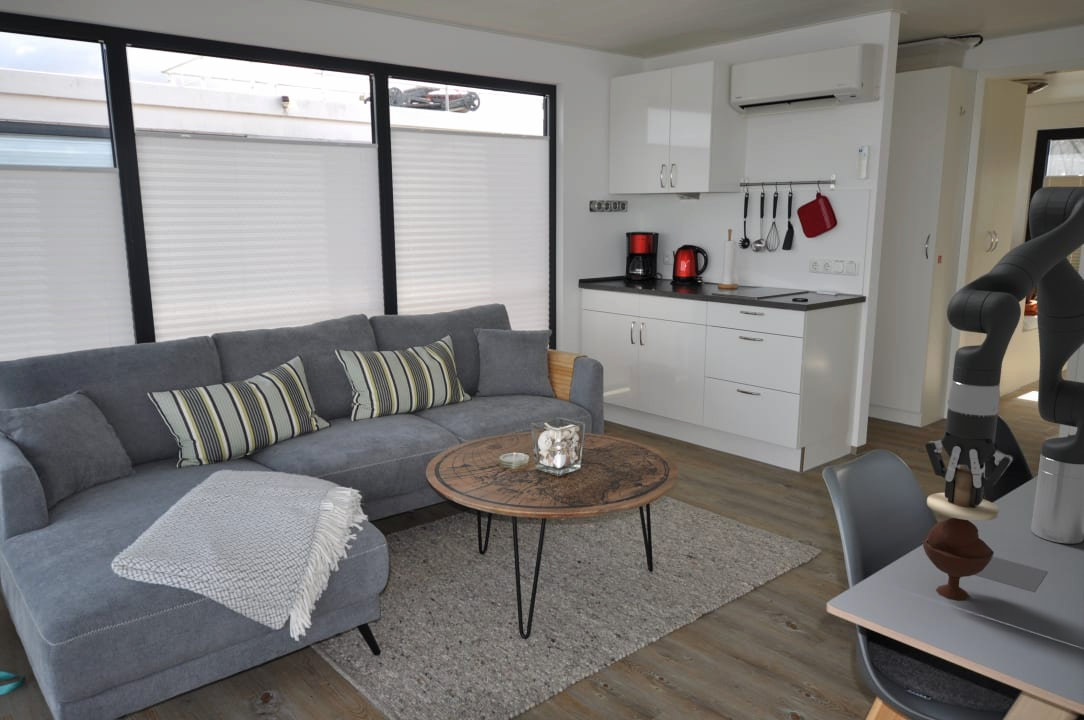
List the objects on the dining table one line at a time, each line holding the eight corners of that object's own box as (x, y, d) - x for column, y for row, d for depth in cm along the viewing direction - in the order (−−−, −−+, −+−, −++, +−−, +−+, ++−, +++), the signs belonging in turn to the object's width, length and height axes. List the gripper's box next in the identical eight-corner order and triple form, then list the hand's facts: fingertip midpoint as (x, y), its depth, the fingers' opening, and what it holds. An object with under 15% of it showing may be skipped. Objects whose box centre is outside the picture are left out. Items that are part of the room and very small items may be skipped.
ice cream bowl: (1002, 607, 133) (1012, 526, 130) (944, 612, 131) (953, 530, 128) (959, 578, 143) (968, 503, 140) (905, 583, 141) (912, 507, 138)
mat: (983, 555, 152) (983, 553, 152) (1047, 573, 145) (1048, 571, 145) (966, 574, 145) (966, 572, 144) (1034, 594, 137) (1034, 592, 137)
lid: (938, 492, 141) (942, 457, 140) (1005, 507, 134) (1010, 470, 132) (917, 508, 133) (921, 471, 132) (988, 526, 126) (992, 487, 125)
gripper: (1025, 411, 128) (1013, 508, 131) (935, 397, 138) (926, 488, 141) (1014, 419, 123) (1002, 520, 126) (921, 404, 132) (912, 499, 136)
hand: (962, 503), depth 133 cm, fingers closed on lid, 3 cm apart
